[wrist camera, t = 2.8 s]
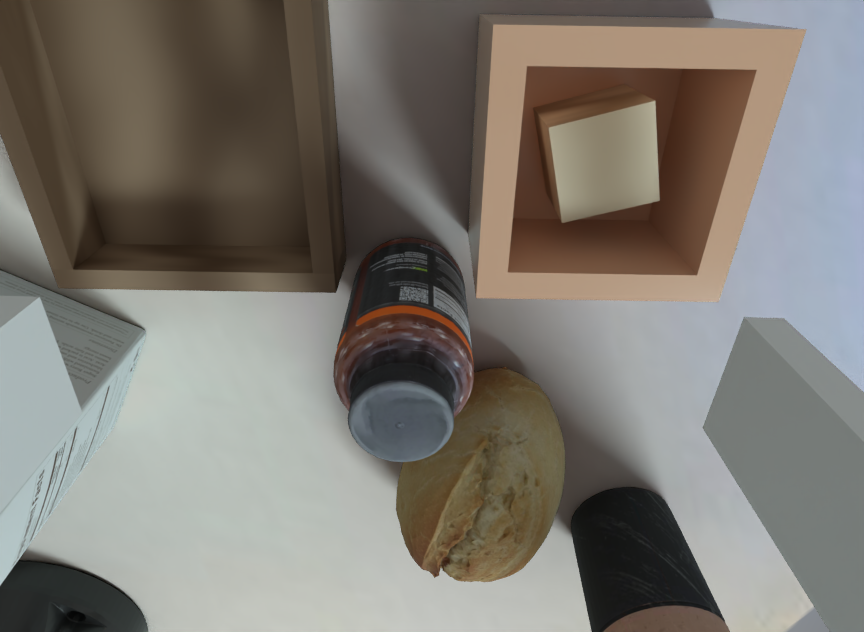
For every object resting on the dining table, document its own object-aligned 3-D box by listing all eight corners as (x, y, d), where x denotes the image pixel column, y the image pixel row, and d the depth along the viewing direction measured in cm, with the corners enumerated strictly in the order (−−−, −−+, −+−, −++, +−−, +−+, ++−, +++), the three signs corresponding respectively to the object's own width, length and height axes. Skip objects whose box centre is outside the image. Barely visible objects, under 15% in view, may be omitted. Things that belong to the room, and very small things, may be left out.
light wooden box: (468, 234, 29) (476, 298, 23) (479, 14, 24) (493, 24, 18) (661, 237, 29) (718, 301, 23) (714, 17, 24) (806, 29, 18)
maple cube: (546, 192, 27) (561, 223, 23) (533, 107, 25) (548, 127, 21) (630, 172, 26) (659, 200, 23) (624, 84, 24) (655, 100, 21)
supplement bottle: (383, 343, 32) (360, 498, 23) (336, 256, 29) (287, 390, 20) (480, 310, 31) (500, 459, 21) (441, 216, 28) (444, 339, 19)
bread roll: (390, 515, 40) (381, 624, 33) (413, 344, 32) (407, 441, 26) (521, 527, 41) (538, 637, 34) (574, 362, 33) (610, 461, 26)
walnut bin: (98, 256, 29) (58, 288, 26) (2, -39, 23) (-66, -42, 20) (346, 260, 30) (335, 292, 26) (325, -33, 23) (307, -36, 20)
